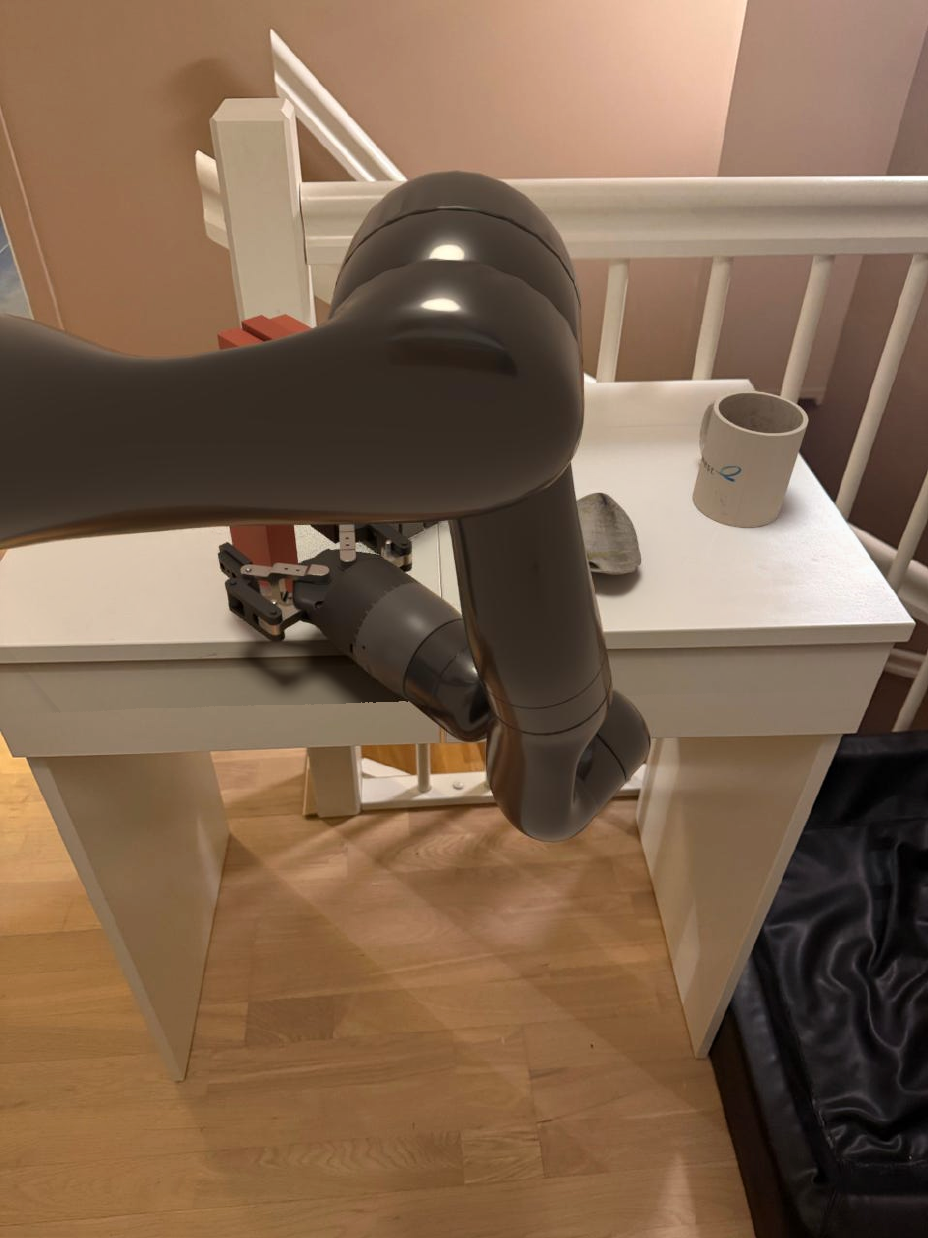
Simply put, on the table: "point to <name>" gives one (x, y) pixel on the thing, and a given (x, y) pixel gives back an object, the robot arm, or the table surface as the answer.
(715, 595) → the table surface
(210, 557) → the table surface
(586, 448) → the table surface
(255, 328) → the red books
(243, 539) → the red book
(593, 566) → the seashell
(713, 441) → the mug
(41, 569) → the table surface
